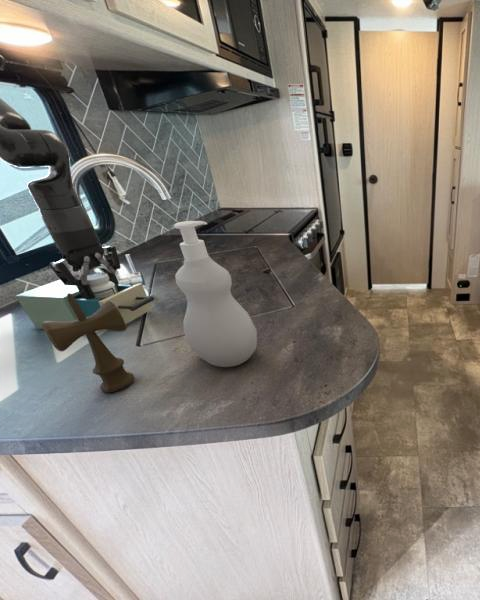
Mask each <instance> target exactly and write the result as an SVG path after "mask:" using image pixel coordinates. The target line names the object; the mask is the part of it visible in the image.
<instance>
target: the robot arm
mask: <svg viewBox="0 0 480 600" xmlns="http://www.w3.org/2000/svg"><path fill="white" fill-rule="evenodd" d="M0 160H2V162H5V163H6V164H7V165H10V166H13V167H16V168H24V169H26V168H42V167H44V168H45V167H48V174H47V175H46V176H44V177H41V178H37V179H33V180H31V181H29V182H27V189H28V192H29V193H30V196H31V197H32V199H33V201H34V203H35V205H36V206H37V209H38V210H39V213H40V215H41V220H42V222H43V223H44V225H45V227H46V229H47V231H48V233H49V234H50V236H51V239H52V241H53V242H54V244H55V246H56V248H57V249H58V250H59V251H60V253H61V256H62V257H61V259H60V260H58V261H56V262H55V261H52V262H49V263H48V266H49V267H50V268H51V270H52V272H54V274H55V275H56V276H57V278H58V279H59V280H61V281H62V282H63V283H64V285H73V286H77V288H78V290H79V292H80V294H81V296H82V297H85V298H88V299H92V298H94V297H95V295H94V293H93V292H92V290H91V288H90V286H89V284H87V276H90V270H92V269H93V268H96V269H98V270H99V271H100V272H101V273H106V274H107V275H108V276H109V281H111V282H113V283H114V284H115V286H116V288H117V287H119V286H118V284H119V280H118V278H117V276H116V271H117V270H120V269H121V268H122V267H121V262H120V258H119V255H118V252H117V248H116V246H114V245H113V246H112V245H104V246H102V245H101V244H100V243H101V240H100V238H99V236H98V234H97V232H96V229H95V227H94V225H93V223H92V221H91V219H90V216H89V214H88V212H87V211H86V209H85V208H84V206H83V205H82V202H81V200H80V198H79V195H78V193H77V191H76V189H75V187H74V182H73V177H72V171H71V169H72V168H71V159H70V152H69V149H68V146H67V144H66V143H65V142H64V140H63V139H62V138H61V137H60V136H59V135H57V134H56V133H55V132H53V131H51V130H46V129H32V127H31V125H30V123H29V122H28V121H27V120H26V118H24V117H23V116H22V115H21V114H20V113H19V112H17V111H16V110H15V109H14V108H13V107H11V106H10V105H9V104H8V103H7V102H6V101H4V100H3V99H2V98H1V97H0ZM104 257H105V258H104ZM69 269H70V270H69ZM119 285H120V284H119Z"/></svg>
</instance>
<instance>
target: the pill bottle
mask: <svg viewBox="0 0 480 600" xmlns="http://www.w3.org/2000/svg"><path fill="white" fill-rule="evenodd" d="M87 284H89V286H90V288H91V290H92V292H93V293H94V295H95V297H94V298H92V299H99V300H100V301H101V300H103V299H105V298H108V297H110V296H112V295H114V294H116V293H118V290H117V288H116V286H115V284H114V283H113V282H111V281H109V276H108V275H107V274H106V273H103V272H100V273H93V274H89V275H88V276H87Z"/></svg>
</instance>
